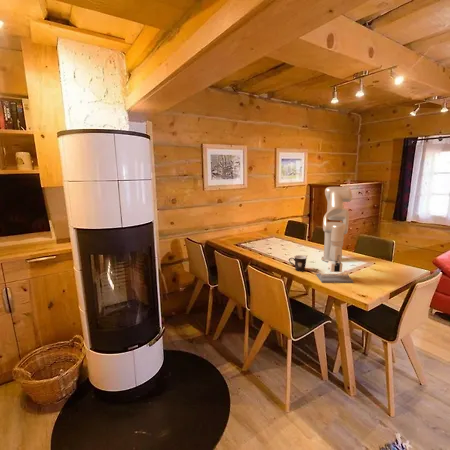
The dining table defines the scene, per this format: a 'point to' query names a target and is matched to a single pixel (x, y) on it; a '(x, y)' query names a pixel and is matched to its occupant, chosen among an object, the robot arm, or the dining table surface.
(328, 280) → the mounting board
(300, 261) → the coffee mug
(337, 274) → the rail
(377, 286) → the dining table surface
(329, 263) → the block
